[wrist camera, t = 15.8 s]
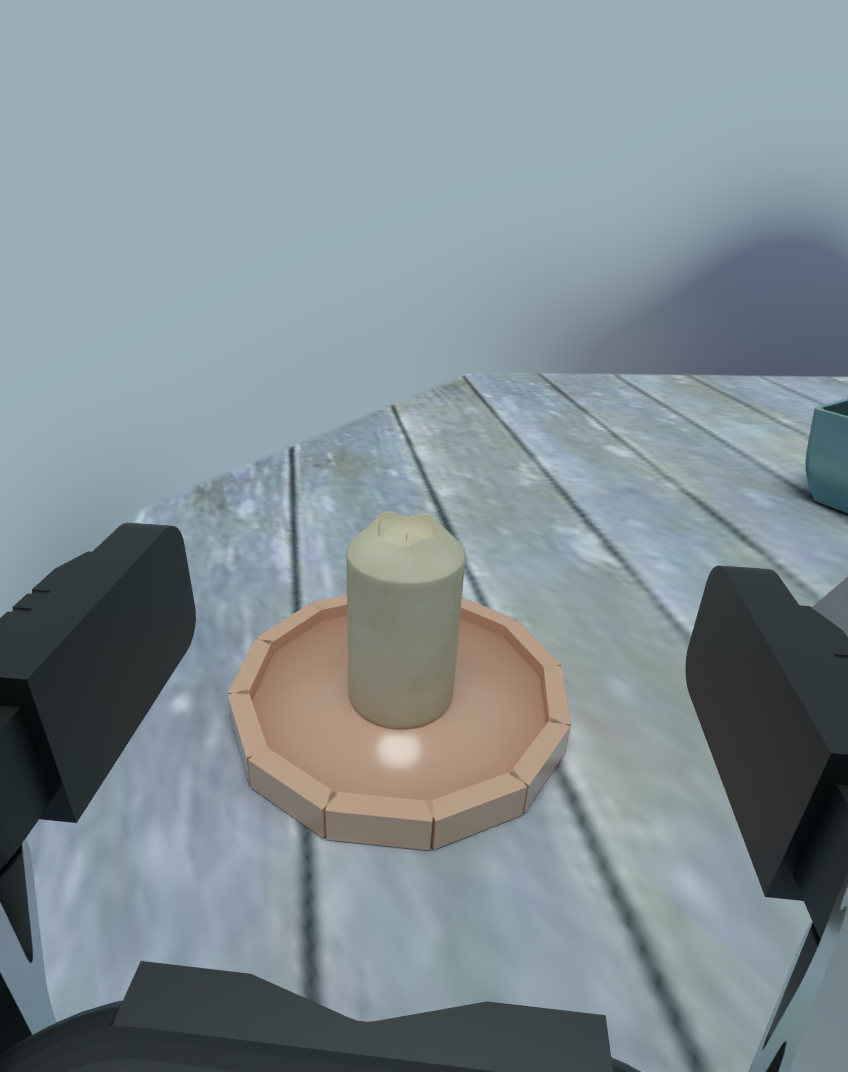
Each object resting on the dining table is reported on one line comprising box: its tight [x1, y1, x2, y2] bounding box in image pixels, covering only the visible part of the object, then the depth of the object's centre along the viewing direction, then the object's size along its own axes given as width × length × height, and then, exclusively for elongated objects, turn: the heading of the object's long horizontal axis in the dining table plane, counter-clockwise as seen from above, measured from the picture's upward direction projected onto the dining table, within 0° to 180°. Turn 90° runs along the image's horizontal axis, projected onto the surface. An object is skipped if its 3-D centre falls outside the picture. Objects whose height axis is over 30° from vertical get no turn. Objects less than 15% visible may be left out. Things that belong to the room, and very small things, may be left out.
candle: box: [347, 512, 465, 729], centre depth 32 cm, size 6×6×10 cm
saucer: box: [228, 595, 571, 851], centre depth 35 cm, size 17×17×2 cm
